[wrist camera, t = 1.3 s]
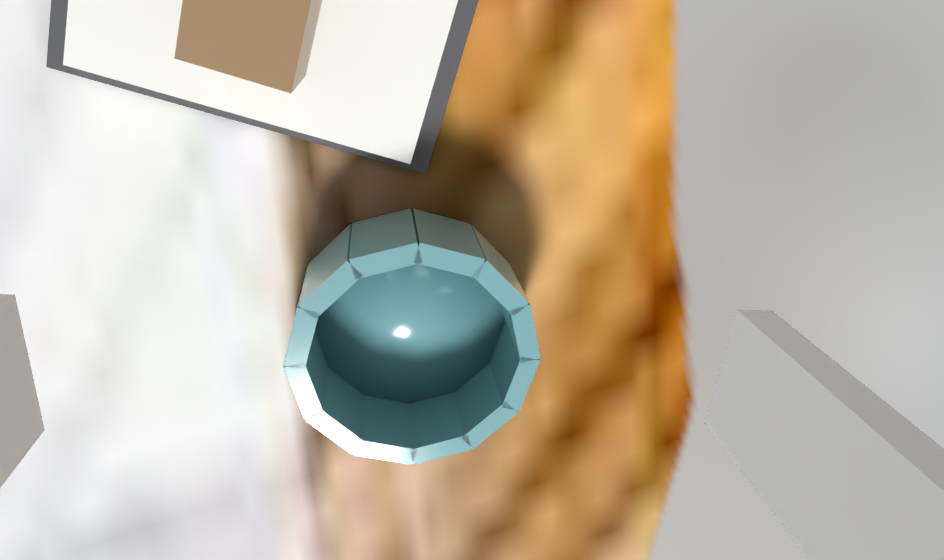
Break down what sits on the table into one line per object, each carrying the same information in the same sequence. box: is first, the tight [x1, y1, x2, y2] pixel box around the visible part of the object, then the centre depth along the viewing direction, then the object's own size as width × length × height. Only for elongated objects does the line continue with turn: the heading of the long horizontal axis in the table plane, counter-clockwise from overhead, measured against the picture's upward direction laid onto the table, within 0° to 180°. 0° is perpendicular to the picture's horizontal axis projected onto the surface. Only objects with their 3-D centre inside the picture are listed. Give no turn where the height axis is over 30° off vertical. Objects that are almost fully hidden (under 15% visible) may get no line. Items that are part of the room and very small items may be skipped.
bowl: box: [283, 208, 540, 465], centre depth 33 cm, size 12×12×5 cm
